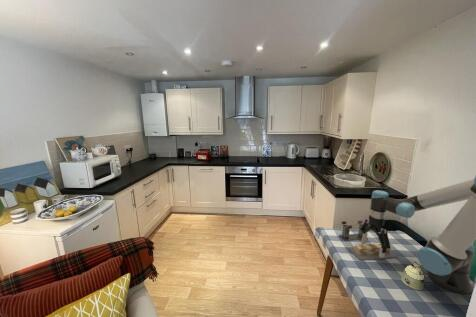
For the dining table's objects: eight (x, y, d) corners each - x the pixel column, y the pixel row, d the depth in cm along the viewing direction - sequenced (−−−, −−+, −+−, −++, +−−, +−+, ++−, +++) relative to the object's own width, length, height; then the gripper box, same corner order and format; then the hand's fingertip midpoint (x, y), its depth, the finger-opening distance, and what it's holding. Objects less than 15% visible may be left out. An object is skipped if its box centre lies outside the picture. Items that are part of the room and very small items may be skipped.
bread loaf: (383, 249, 121) (384, 243, 120) (389, 253, 117) (390, 247, 116) (354, 250, 119) (354, 244, 118) (358, 255, 115) (359, 248, 114)
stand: (361, 234, 138) (363, 220, 136) (368, 239, 132) (370, 225, 130) (338, 235, 136) (340, 221, 135) (344, 241, 130) (346, 226, 128)
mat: (382, 246, 124) (382, 245, 124) (398, 258, 114) (398, 257, 114) (347, 248, 122) (347, 247, 122) (360, 260, 111) (360, 259, 111)
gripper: (356, 208, 126) (352, 238, 129) (389, 227, 101) (384, 264, 105) (366, 207, 127) (362, 237, 130) (402, 227, 102) (396, 263, 106)
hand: (372, 249), depth 117 cm, fingers open, 13 cm apart
